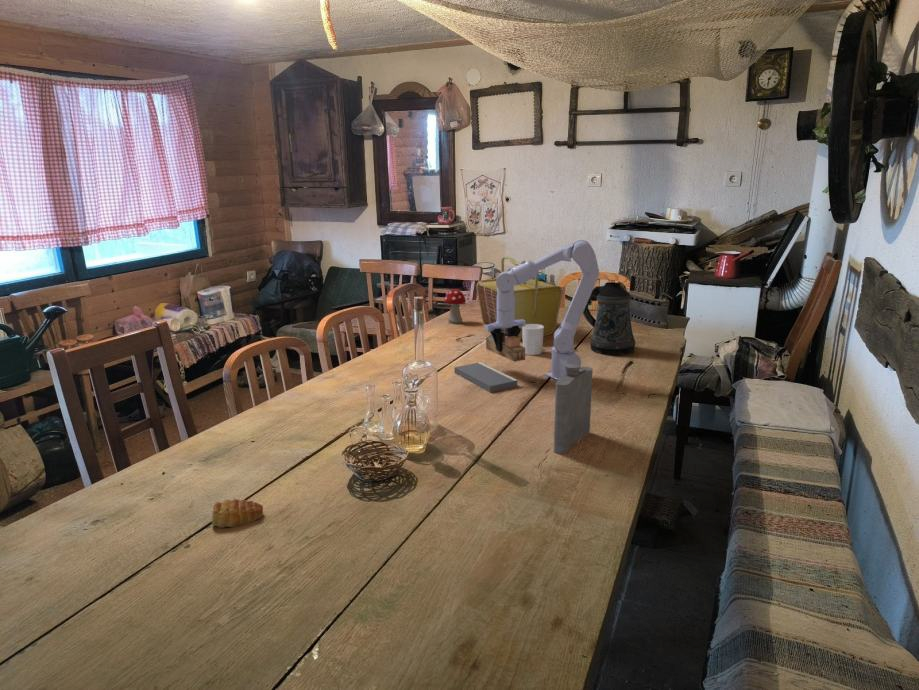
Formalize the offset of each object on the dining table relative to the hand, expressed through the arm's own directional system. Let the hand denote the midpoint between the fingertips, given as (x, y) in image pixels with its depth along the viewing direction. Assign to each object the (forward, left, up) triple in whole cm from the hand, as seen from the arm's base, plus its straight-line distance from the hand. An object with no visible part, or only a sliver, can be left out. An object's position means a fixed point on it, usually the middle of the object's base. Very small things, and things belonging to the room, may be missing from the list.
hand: (505, 349), depth 201 cm
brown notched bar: (0, 0, -2) cm, 2 cm away
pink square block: (-4, 0, +2) cm, 5 cm away
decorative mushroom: (+71, -22, -9) cm, 75 cm away
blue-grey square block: (+4, 0, +2) cm, 5 cm away
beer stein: (+3, -49, -9) cm, 49 cm away
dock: (-1, +8, -8) cm, 12 cm away
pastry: (-44, +94, -9) cm, 105 cm away
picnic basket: (+44, -37, -9) cm, 58 cm away
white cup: (+15, -23, -9) cm, 29 cm away
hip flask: (-52, +15, -9) cm, 55 cm away
